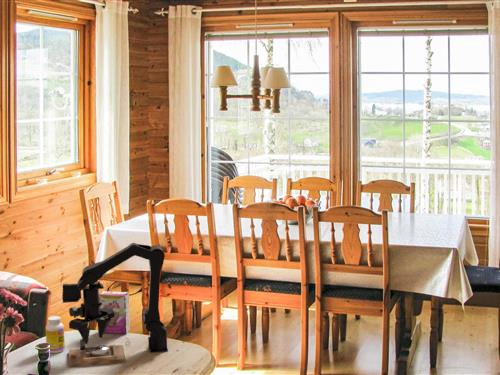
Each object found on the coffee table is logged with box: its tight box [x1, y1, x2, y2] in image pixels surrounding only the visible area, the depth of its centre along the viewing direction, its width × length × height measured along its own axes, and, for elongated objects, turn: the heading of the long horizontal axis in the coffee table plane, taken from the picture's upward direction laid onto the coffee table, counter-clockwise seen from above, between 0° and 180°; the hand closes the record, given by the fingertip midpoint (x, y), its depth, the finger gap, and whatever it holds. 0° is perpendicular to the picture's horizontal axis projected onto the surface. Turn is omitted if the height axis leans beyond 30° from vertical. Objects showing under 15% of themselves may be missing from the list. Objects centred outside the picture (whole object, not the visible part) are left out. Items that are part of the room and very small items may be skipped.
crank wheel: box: [79, 338, 109, 357], centre depth 284 cm, size 10×7×6 cm, turn 105°
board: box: [68, 344, 126, 368], centre depth 286 cm, size 20×15×2 cm
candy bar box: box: [99, 290, 131, 335], centre depth 312 cm, size 11×5×16 cm, turn 82°
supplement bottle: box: [45, 315, 66, 354], centre depth 292 cm, size 7×7×13 cm
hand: (93, 341), depth 288 cm, fingers open, 7 cm apart
